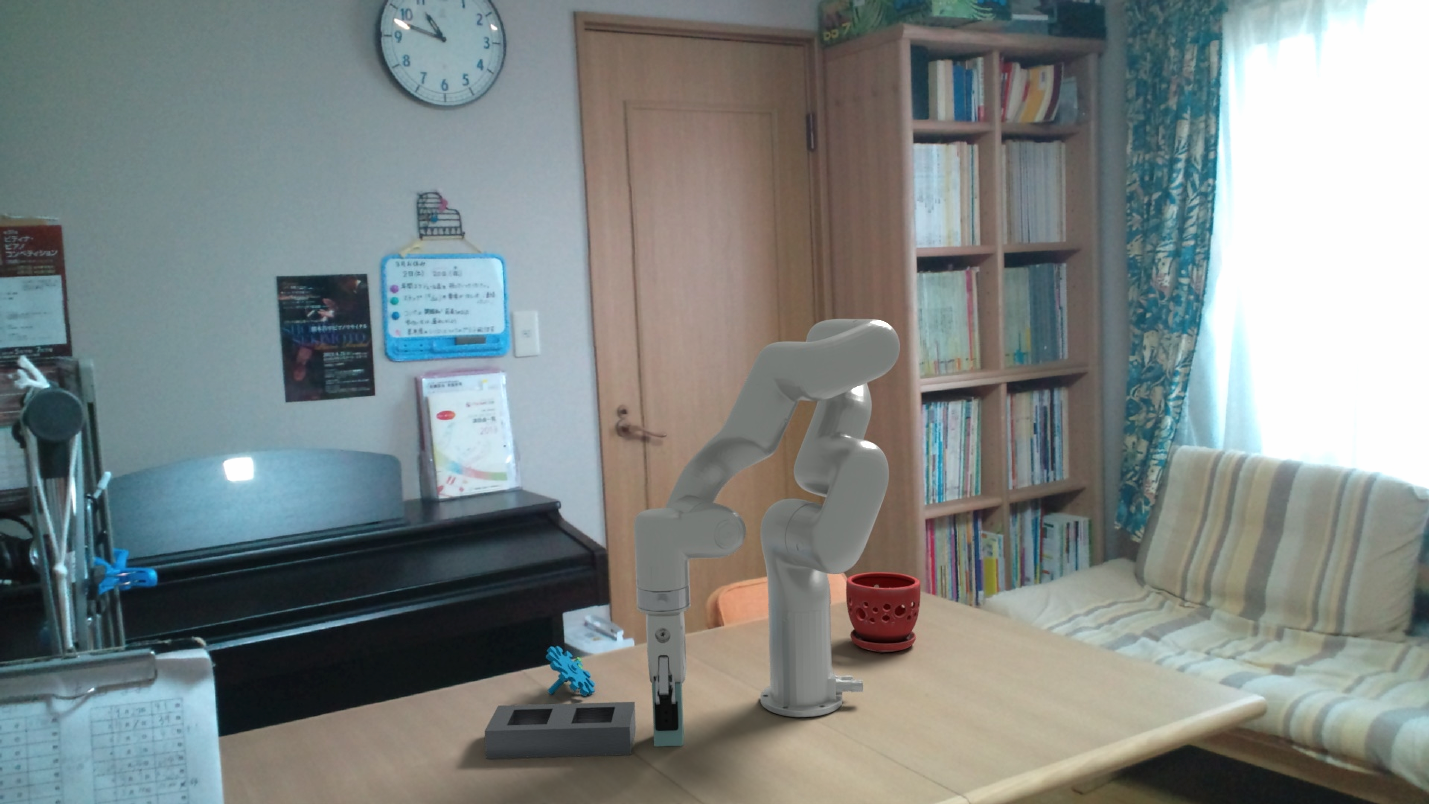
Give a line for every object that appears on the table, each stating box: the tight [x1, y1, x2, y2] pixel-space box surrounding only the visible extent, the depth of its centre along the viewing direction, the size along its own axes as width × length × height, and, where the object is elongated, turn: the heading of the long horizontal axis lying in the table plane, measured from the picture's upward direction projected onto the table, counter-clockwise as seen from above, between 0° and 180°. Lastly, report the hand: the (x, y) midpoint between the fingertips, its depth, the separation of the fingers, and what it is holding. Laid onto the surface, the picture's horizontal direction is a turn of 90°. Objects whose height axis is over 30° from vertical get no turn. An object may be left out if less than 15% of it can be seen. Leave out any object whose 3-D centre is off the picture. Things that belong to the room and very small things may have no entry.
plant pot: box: [845, 571, 922, 654], centre depth 184 cm, size 13×13×12 cm
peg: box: [651, 677, 685, 747], centre depth 146 cm, size 4×4×9 cm
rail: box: [484, 701, 637, 760], centre depth 146 cm, size 20×9×4 cm, turn 90°
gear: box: [545, 645, 596, 697], centre depth 166 cm, size 11×6×10 cm
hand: (667, 721), depth 146 cm, fingers closed on peg, 3 cm apart
